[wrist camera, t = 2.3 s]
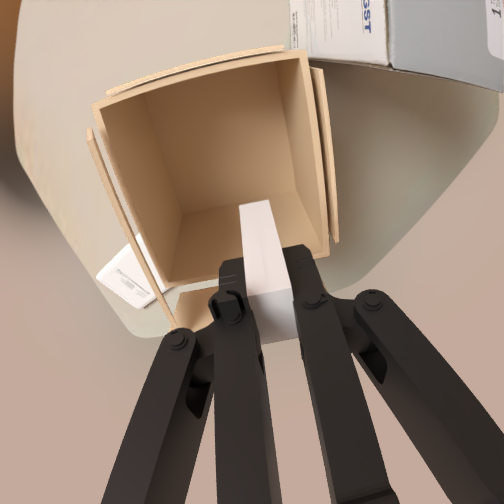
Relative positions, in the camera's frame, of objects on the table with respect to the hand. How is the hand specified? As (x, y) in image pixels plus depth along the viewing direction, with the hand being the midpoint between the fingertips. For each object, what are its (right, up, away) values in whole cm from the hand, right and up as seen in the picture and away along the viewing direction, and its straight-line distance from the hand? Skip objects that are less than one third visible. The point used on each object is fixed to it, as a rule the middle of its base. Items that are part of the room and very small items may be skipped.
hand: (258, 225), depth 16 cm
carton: (-3, +10, +14) cm, 18 cm away
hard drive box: (+7, +24, +6) cm, 26 cm away
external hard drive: (-14, -3, +24) cm, 28 cm away
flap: (-8, 0, +2) cm, 8 cm away
